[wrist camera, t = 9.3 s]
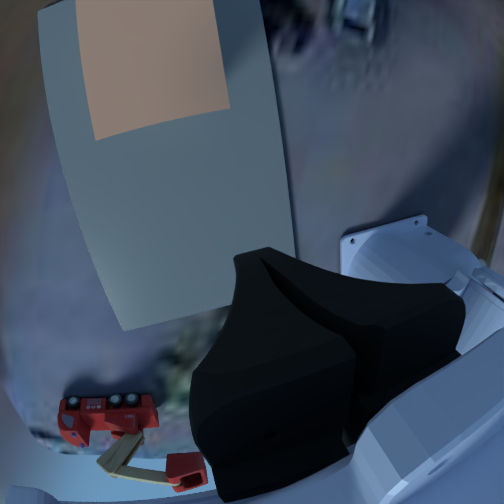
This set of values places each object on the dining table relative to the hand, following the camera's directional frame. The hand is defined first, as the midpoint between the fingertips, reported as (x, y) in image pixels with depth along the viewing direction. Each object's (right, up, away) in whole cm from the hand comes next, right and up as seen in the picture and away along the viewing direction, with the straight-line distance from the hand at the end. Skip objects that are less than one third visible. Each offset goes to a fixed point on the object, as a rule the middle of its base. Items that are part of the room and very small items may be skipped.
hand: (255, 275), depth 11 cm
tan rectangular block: (-5, +10, 0) cm, 11 cm away
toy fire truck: (-13, -14, +15) cm, 24 cm away
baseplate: (-5, +7, +7) cm, 11 cm away
